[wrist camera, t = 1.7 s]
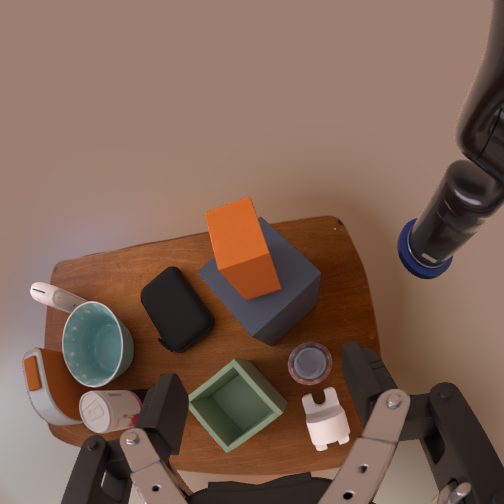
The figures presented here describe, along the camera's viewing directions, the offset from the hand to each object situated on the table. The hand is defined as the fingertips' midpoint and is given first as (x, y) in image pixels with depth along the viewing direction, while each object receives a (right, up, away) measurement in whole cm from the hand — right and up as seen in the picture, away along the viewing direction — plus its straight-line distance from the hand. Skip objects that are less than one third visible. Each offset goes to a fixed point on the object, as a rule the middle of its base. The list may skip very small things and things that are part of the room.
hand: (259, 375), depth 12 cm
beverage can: (-20, -22, +30) cm, 43 cm away
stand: (+3, -3, +34) cm, 34 cm away
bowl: (-27, -13, +36) cm, 47 cm away
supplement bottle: (+9, -12, +29) cm, 33 cm away
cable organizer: (+11, -20, +25) cm, 34 cm away
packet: (0, +4, +18) cm, 19 cm away
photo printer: (-41, -7, +41) cm, 58 cm away
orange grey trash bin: (-37, -24, +33) cm, 56 cm away
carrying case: (-14, -5, +37) cm, 40 cm away
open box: (-1, -18, +28) cm, 34 cm away
